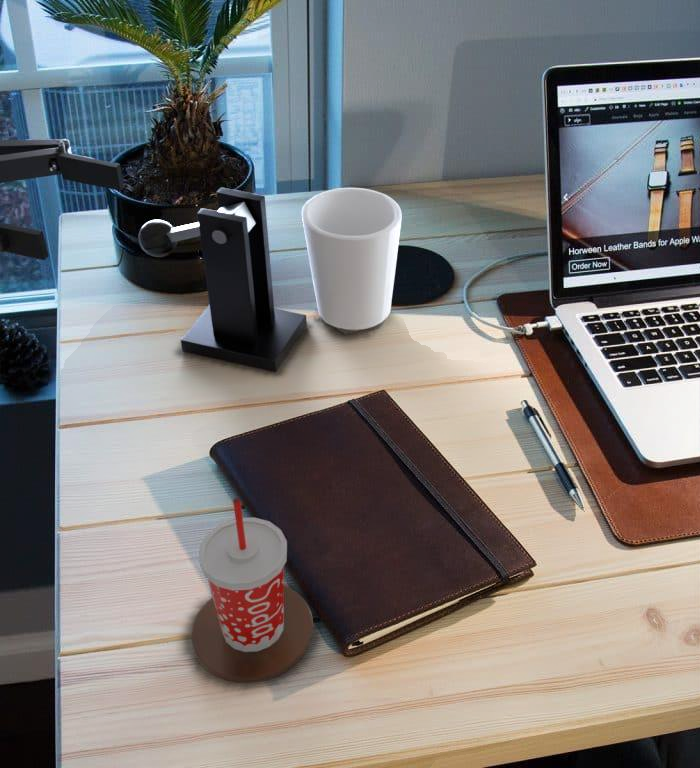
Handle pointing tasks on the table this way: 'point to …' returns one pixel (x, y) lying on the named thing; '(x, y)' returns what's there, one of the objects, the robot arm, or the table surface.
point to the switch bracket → (240, 291)
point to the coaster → (260, 663)
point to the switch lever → (180, 231)
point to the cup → (352, 255)
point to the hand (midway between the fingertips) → (84, 210)
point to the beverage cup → (246, 579)
